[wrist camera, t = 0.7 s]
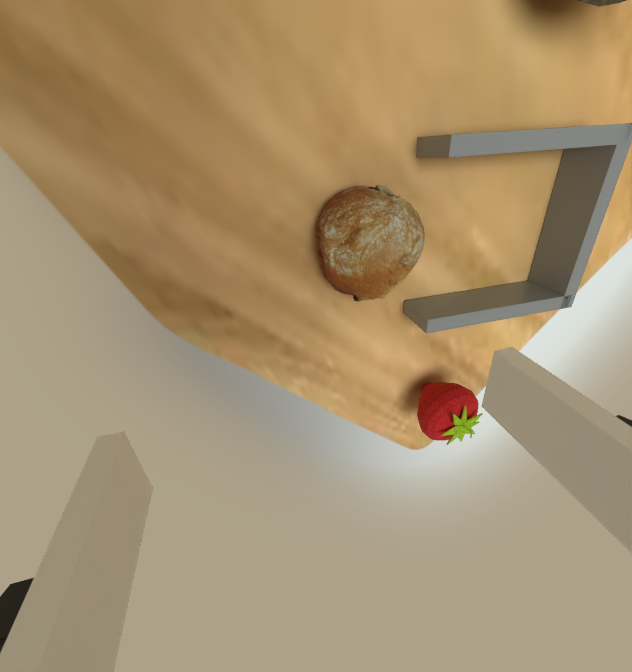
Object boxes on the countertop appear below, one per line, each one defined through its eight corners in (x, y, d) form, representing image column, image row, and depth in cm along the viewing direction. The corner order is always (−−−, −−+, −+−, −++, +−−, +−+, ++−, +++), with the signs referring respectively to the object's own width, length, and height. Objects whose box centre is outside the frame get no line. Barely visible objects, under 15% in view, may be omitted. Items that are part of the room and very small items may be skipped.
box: (417, 137, 29) (451, 134, 24) (583, 126, 32) (638, 122, 27) (403, 312, 37) (426, 333, 33) (534, 290, 40) (571, 306, 36)
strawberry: (390, 396, 43) (431, 455, 34) (433, 355, 41) (487, 407, 33) (416, 413, 46) (460, 472, 37) (456, 375, 44) (512, 429, 36)
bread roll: (398, 204, 35) (445, 172, 27) (399, 301, 35) (445, 297, 28) (307, 198, 32) (331, 161, 25) (310, 303, 33) (334, 298, 25)
